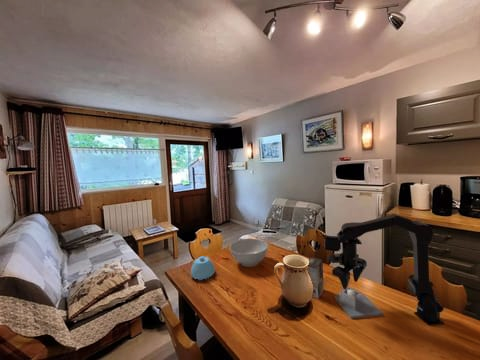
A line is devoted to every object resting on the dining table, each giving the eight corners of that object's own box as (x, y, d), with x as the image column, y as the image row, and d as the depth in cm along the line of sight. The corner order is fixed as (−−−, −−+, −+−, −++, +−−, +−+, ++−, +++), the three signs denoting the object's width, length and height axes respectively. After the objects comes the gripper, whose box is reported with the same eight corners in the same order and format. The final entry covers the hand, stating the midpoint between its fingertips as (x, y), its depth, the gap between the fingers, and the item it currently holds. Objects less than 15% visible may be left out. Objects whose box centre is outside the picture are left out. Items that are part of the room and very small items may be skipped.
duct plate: (362, 295, 96) (362, 282, 96) (383, 315, 83) (382, 300, 83) (334, 298, 95) (334, 285, 95) (351, 318, 82) (350, 304, 82)
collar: (363, 303, 89) (363, 293, 89) (355, 310, 85) (355, 299, 85) (347, 295, 95) (347, 285, 95) (339, 302, 91) (339, 291, 91)
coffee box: (311, 285, 107) (310, 256, 106) (324, 289, 102) (323, 259, 101) (305, 294, 100) (304, 263, 99) (318, 299, 95) (317, 267, 94)
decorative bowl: (225, 259, 143) (223, 243, 142) (257, 251, 154) (256, 236, 153) (240, 277, 119) (239, 258, 118) (277, 265, 130) (276, 247, 129)
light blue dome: (213, 280, 117) (211, 262, 117) (188, 282, 118) (186, 263, 117) (216, 267, 132) (215, 251, 132) (194, 269, 133) (193, 252, 132)
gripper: (343, 241, 100) (344, 271, 101) (320, 252, 90) (322, 284, 91) (366, 248, 91) (367, 280, 92) (344, 261, 81) (345, 297, 82)
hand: (350, 285), depth 90 cm, fingers open, 9 cm apart
